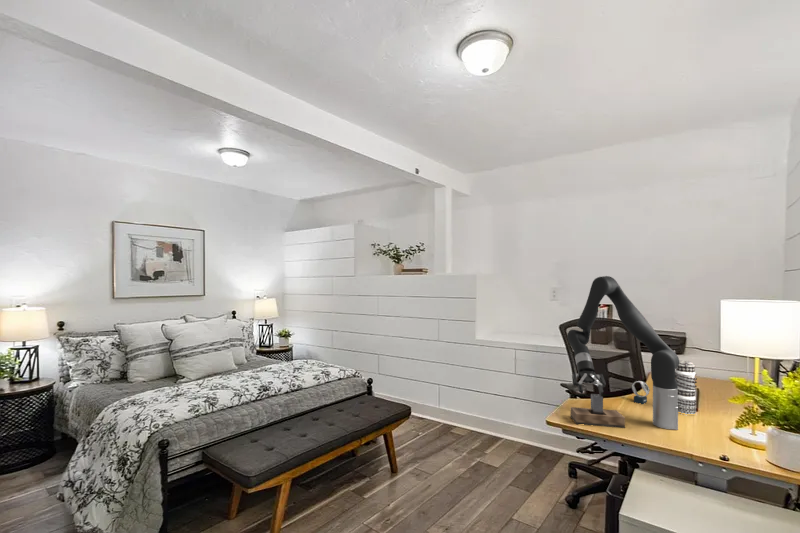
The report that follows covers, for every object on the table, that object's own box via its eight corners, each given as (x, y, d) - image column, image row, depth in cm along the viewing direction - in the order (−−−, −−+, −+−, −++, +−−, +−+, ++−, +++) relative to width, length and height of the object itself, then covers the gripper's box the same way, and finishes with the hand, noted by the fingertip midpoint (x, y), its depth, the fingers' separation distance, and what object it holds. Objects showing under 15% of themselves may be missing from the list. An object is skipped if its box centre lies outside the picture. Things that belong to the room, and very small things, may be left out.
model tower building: (673, 408, 203) (673, 359, 203) (696, 412, 198) (695, 361, 199) (674, 413, 195) (674, 362, 196) (698, 417, 190) (698, 364, 191)
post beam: (616, 420, 184) (616, 410, 184) (625, 428, 174) (625, 417, 174) (570, 416, 187) (570, 407, 187) (576, 424, 177) (576, 414, 177)
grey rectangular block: (600, 418, 182) (600, 394, 182) (602, 421, 178) (603, 396, 178) (590, 418, 183) (590, 393, 183) (593, 421, 179) (593, 396, 179)
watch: (647, 405, 207) (647, 383, 208) (630, 401, 214) (630, 380, 214) (651, 403, 211) (651, 382, 211) (634, 399, 217) (634, 379, 218)
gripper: (570, 358, 198) (577, 388, 186) (601, 360, 196) (609, 390, 184) (568, 367, 203) (574, 396, 191) (597, 369, 201) (605, 398, 189)
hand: (591, 393), depth 188 cm, fingers open, 8 cm apart
